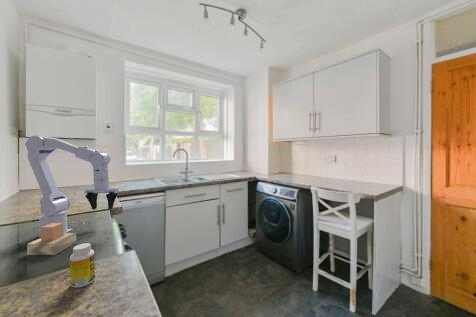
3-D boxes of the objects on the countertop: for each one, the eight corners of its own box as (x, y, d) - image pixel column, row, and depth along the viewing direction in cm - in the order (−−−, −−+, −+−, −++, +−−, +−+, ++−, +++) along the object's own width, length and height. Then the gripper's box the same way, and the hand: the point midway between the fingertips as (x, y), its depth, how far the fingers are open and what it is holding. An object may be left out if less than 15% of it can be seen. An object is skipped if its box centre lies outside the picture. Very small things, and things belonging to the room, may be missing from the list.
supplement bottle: (93, 284, 58) (92, 247, 58) (68, 291, 56) (66, 252, 55) (97, 274, 63) (95, 240, 63) (73, 279, 61) (72, 244, 60)
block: (41, 240, 79) (40, 227, 79) (52, 235, 84) (51, 223, 83) (53, 240, 79) (52, 227, 79) (63, 235, 83) (63, 223, 83)
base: (27, 254, 76) (26, 243, 76) (52, 242, 86) (52, 233, 86) (54, 254, 76) (53, 243, 76) (76, 242, 86) (76, 232, 86)
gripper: (78, 180, 93) (80, 211, 94) (111, 180, 93) (112, 211, 93) (90, 178, 100) (91, 207, 101) (120, 178, 100) (121, 206, 100)
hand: (102, 208), depth 98 cm, fingers open, 7 cm apart
